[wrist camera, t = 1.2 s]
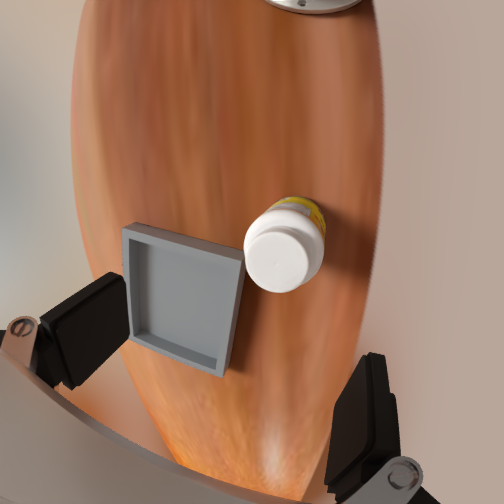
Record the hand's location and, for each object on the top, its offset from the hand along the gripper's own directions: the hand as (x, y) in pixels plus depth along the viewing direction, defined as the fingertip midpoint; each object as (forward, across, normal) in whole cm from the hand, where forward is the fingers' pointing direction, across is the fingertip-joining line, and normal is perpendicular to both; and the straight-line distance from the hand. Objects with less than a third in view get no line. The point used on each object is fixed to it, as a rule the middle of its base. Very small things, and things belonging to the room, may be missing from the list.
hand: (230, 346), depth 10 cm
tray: (+18, +11, +12) cm, 24 cm away
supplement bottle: (+18, 0, 0) cm, 18 cm away
